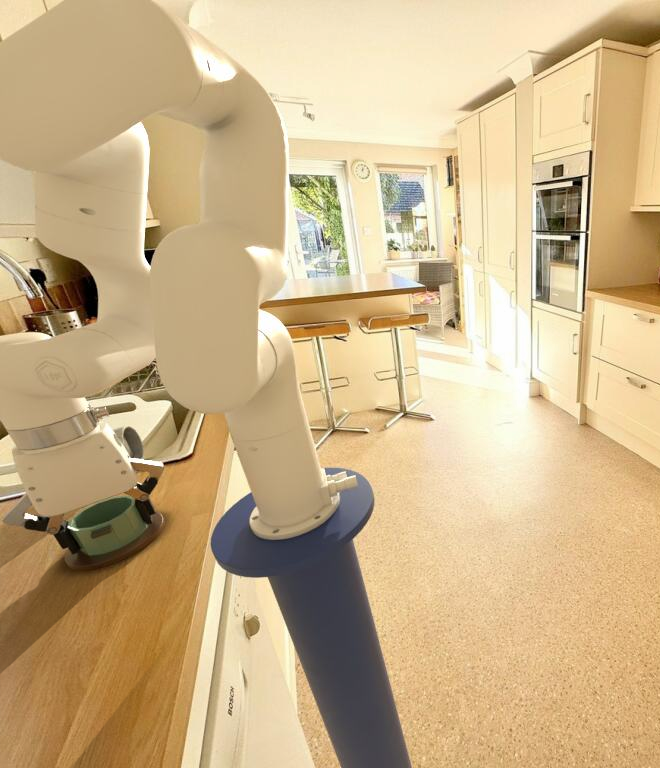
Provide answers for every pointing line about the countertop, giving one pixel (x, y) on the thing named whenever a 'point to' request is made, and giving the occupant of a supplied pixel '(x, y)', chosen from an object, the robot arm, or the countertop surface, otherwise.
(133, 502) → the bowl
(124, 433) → the ceramic mug
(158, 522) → the turntable
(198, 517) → the countertop surface
